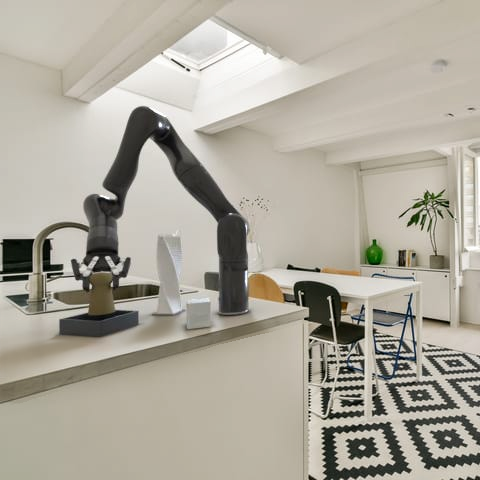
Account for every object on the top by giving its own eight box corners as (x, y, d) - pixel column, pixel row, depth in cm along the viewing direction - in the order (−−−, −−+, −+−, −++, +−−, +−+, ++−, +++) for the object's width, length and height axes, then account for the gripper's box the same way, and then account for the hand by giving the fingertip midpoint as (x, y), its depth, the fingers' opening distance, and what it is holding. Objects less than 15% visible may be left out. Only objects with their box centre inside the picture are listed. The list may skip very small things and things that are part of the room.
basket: (102, 322, 99) (102, 308, 99) (138, 324, 97) (138, 310, 97) (59, 334, 87) (59, 319, 87) (99, 336, 85) (99, 321, 85)
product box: (210, 327, 94) (211, 301, 94) (186, 329, 91) (186, 303, 91) (209, 322, 100) (209, 297, 100) (186, 324, 97) (186, 299, 97)
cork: (100, 315, 88) (99, 274, 88) (81, 314, 89) (81, 273, 89) (120, 310, 94) (120, 271, 94) (103, 309, 95) (102, 271, 95)
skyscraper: (188, 310, 115) (188, 229, 114) (176, 316, 107) (176, 228, 106) (164, 310, 115) (164, 229, 114) (149, 315, 106) (149, 228, 106)
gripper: (70, 235, 93) (64, 283, 84) (131, 235, 102) (133, 278, 92) (72, 252, 98) (67, 300, 88) (131, 251, 106) (133, 294, 96)
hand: (101, 289), depth 90 cm, fingers closed on cork, 5 cm apart
